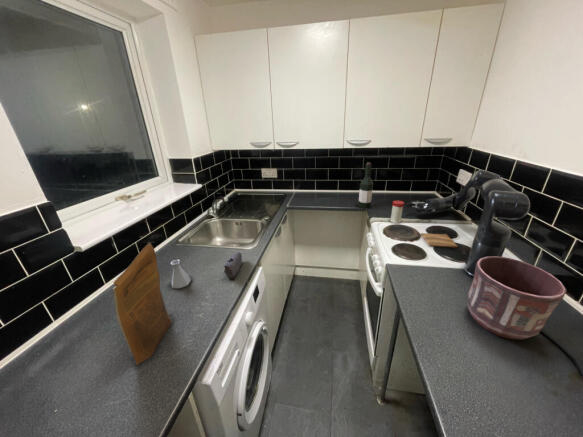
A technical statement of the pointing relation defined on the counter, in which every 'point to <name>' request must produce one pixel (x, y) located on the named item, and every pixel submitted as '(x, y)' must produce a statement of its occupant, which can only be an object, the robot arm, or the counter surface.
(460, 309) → the counter surface
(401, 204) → the jam lid
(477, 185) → the robot arm
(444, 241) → the wooden trivet
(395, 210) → the jam jar
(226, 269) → the perforated stone tool
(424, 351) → the counter surface
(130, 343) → the pancake mix bag
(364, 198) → the wine bottle
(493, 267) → the pottery
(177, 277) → the flask
